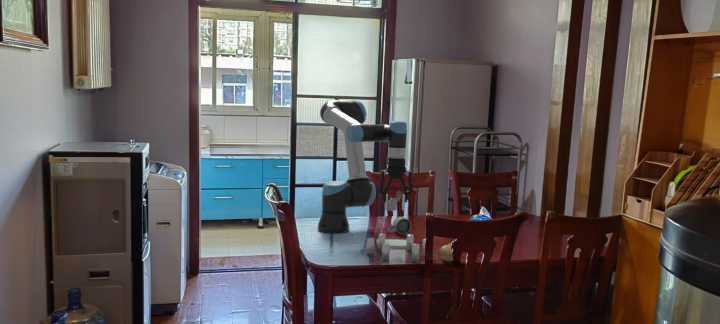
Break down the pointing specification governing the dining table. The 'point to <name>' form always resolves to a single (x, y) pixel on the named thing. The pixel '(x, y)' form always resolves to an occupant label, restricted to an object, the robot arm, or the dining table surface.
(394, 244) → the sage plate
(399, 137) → the robot arm
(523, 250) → the dining table surface
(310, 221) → the dining table surface
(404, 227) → the ceramic mug
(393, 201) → the lighter
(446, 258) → the onion
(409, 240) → the spacer posts
